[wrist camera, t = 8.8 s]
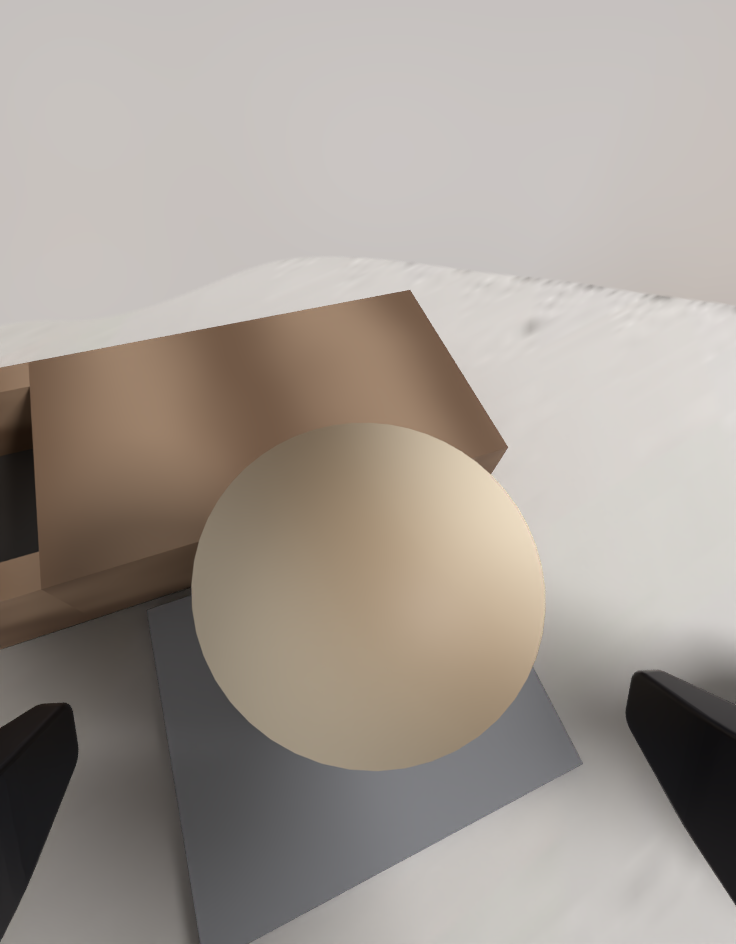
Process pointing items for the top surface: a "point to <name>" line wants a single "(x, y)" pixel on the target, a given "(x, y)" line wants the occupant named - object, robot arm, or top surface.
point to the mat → (318, 795)
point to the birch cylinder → (368, 596)
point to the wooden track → (192, 442)
